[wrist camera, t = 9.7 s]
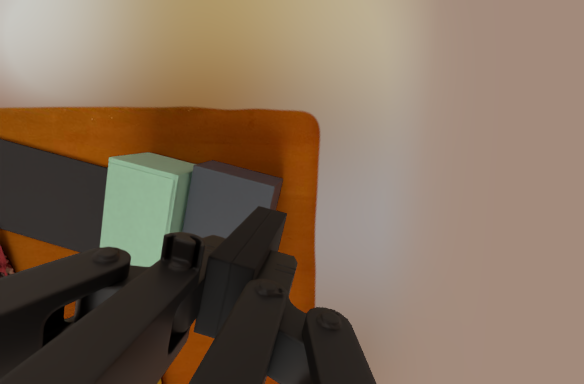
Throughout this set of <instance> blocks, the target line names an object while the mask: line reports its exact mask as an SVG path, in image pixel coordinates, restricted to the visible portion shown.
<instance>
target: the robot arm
mask: <svg viewBox="0 0 584 384" xmlns="http://www.w3.org/2000/svg"><path fill="white" fill-rule="evenodd" d="M286 216H287V213H283V212H279V211H276V210H272V209H268V208H265V207H261V206H258V207H257V208H256V209H255V210H254V211H253V212H252V213H251V214H250V215H249V216H248V217H247V218H246V219H245V220H244V221H243V222H242V223H241V224H240V225H239V226H238V227H237V228H236V229H235V230H234V231H233V232H232V233H231V234H230V235H229V236H228V237H227V238H223V237H219V236H216V235H211V236H207V237H204V238H201V237H200V236H197V235H195V234H191V233H186V232H174V233H168V234H166V235H164V239H163V246H162V252H161V258H160V260H159V261H157V262H156V263H155V264H153V265H152V266H150V267H143V266H133V265H130V263H131V256H130V254H129V253H128V252H126V251H125V250H122V249H119V248H115V247H102V248H95V249H91V250H87V251H84V252H81V253H78V254H75V255H71V256H68V257H65V258H62V259H58V260H55V261H52V262H49V263H46V264H42V265H39V266H36V267H33V268H30V269H26V270H23V271H20V272H17V273H14V274H10V275H7V276H4V277H1V278H0V384H157V383H158V382H159V380H160V379H161V377H162V376H163V375H164V373H165V372H166V370H167V369H168V367H169V366H170V364H171V363H172V362H173V360H174V359H175V357H176V356H177V354H178V353H179V352H180V350H181V349H182V347H183V346H184V344H185V343H186V341H187V338H188V335H189V330H190V326H191V324H192V323H193V322H194V320H195V319H196V323H195V328H194V332H196V333H199V334H202V335H206V336H209V337H212V338H215V339H214V341H213V343H212V344H211V346H210V348H209V350H208V351H207V353H206V355H205V356H204V358H203V360H202V362H201V363H200V365H199V367H198V369H197V370H196V372H195V374H194V375H193V377H192V379H191V381H190V382H189V384H265V381H266V377H267V376H269V377H270V378H272V379H273V380H275V381H276V382H278V383H280V384H376V382H375V379H374V377H373V375H372V372H371V370H370V368H369V365H368V363H367V361H366V358H365V356H364V353H363V351H362V349H361V346H360V344H359V342H358V339H357V337H356V335H355V333H354V330H353V328H352V325H351V324H350V322H349V321H348V319H346V318H345V317H344V316H343V315H342V314H340V313H339V312H336V311H335V310H332V309H328V308H320V307H316V308H313V309H310V310H309V311H308V312H307V314H306V313H304V312H302V311H300V310H299V309H297V308H296V307H295V306H294V305H293V304H292V303H291V302H290V300H289V293H290V289H291V286H292V282H293V278H294V274H295V270H296V267H297V261H296V259H295V258H294V256H290V255H287V254H283V253H280V252H278V248H279V244H280V240H281V236H282V232H283V228H284V224H285V220H286ZM74 301H76V305H75V315H74V316H72V317H70V318H67V319H64V306H65V305H67V304H70V303H72V302H74Z"/></svg>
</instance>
